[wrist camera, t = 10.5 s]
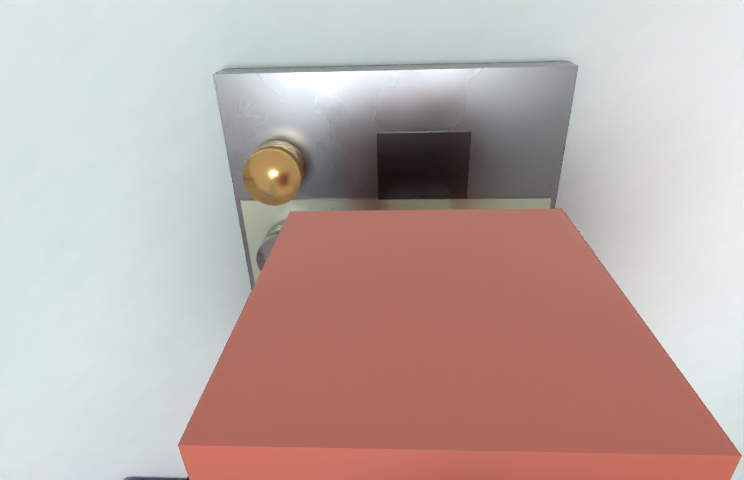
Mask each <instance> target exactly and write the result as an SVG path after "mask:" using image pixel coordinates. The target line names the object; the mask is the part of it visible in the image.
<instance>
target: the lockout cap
mask: <svg viewBox="0 0 744 480" xmlns="http://www.w3.org/2000/svg"><path fill="white" fill-rule="evenodd" d="M178 447H179V450H180V453H181V456H182V459H183V462H184V465H185V468H186V471H187V474H188V477H189V480H730V479H731V477H732V475H733V473H734V471H735V469H736V467H737V465H738V463H739V461H740V459H741V457H742V455H741V454H740V453H739V451H738V450H737V449H736V447H735V446H734V444H733V443H732V442H731V440H730V439H729V438H728V436H727V435H726V433H725V432H724V431H723V429H722V428H721V427H720V425H719V424H718V422H717V421H716V420H715V418H714V417H713V416H712V414H711V413H710V411H709V410H708V409H707V407H706V406H705V405H704V403H703V402H702V400H701V399H700V398H699V396H698V395H697V394H696V392H695V391H694V389H693V388H692V387H691V385H690V384H689V383H688V381H687V380H686V379H685V377H684V376H683V374H682V373H681V372H680V370H679V369H678V368H677V366H676V365H675V363H674V362H673V361H672V359H671V358H670V357H669V355H668V354H667V352H666V351H665V350H664V348H663V347H662V346H661V344H660V343H659V341H658V340H657V339H656V337H655V336H654V335H653V333H652V332H651V330H650V329H649V328H648V326H647V325H646V324H645V322H644V321H643V319H642V318H641V317H640V315H639V314H638V313H637V311H636V310H635V308H634V307H633V306H632V304H631V303H630V302H629V300H628V299H627V297H626V296H625V295H624V293H623V292H622V291H621V289H620V288H619V286H618V285H617V284H616V282H615V281H614V280H613V278H612V277H611V275H610V274H609V273H608V271H607V270H606V269H605V267H604V266H603V264H602V263H601V262H600V260H599V259H598V258H597V256H596V255H595V253H594V252H593V251H592V249H591V248H590V247H589V245H588V244H587V242H586V241H585V240H584V238H583V237H582V236H581V234H580V233H579V231H578V230H577V229H576V227H575V226H574V225H573V223H572V222H571V221H570V219H569V218H568V216H567V215H566V214H565V212H564V211H563V210H562V208H558V209H462V210H365V211H290V212H289V214H288V216H287V218H286V221H285V223H284V225H283V227H282V229H281V231H280V233H279V235H278V237H277V239H276V241H275V244H274V246H273V248H272V250H271V252H270V254H269V256H268V258H267V260H266V262H265V264H264V266H263V269H262V271H261V273H260V275H259V277H258V279H257V281H256V283H255V285H254V287H253V289H252V292H251V294H250V296H249V298H248V300H247V302H246V304H245V306H244V308H243V310H242V312H241V315H240V317H239V319H238V321H237V323H236V325H235V327H234V329H233V331H232V333H231V335H230V338H229V340H228V342H227V344H226V346H225V348H224V350H223V352H222V354H221V356H220V358H219V361H218V363H217V365H216V367H215V369H214V371H213V373H212V375H211V377H210V379H209V381H208V383H207V386H206V388H205V390H204V392H203V394H202V396H201V398H200V400H199V402H198V404H197V406H196V409H195V411H194V413H193V415H192V417H191V419H190V421H189V423H188V425H187V427H186V429H185V432H184V434H183V436H182V438H181V440H180V442H179V444H178Z"/></svg>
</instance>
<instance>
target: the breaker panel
mask: <svg viewBox="0 0 744 480" xmlns="http://www.w3.org/2000/svg"><path fill="white" fill-rule="evenodd" d="M577 71H578V66H577V65H575V64H573V63H571V62H569V61H552V62H509V63H466V64H423V65H380V66H338V67H295V68H252V69H223V70H221V71H219V72H217V73H215V74H213V76H214V82H215V88H216V93H217V99H218V104H219V110H220V115H221V121H222V127H223V132H224V138H225V143H226V149H227V155H228V160H229V166H230V171H231V177H232V182H233V188H234V194H235V199H236V205H237V210H238V216H239V222H240V227H241V233H242V238H243V244H244V249H245V255H246V261H247V266H248V272H249V277H250V283H251V289H253V287H254V285H255V283H256V281H257V279H258V277H259V275H260V273H261V271H262V269H263V266H264V264H265V262H266V260H267V258H268V256H269V254H270V252H271V250H272V248H273V246H274V244H275V241H276V239H277V237H278V235H279V233H280V231H281V229H282V227H283V225H284V223H285V221H286V218H287V216H288V214H289V212H290V211H365V210H462V209H555V203H556V197H557V191H558V185H559V179H560V173H561V167H562V161H563V155H564V149H565V143H566V137H567V131H568V125H569V119H570V113H571V107H572V101H573V95H574V89H575V83H576V77H577Z"/></svg>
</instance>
